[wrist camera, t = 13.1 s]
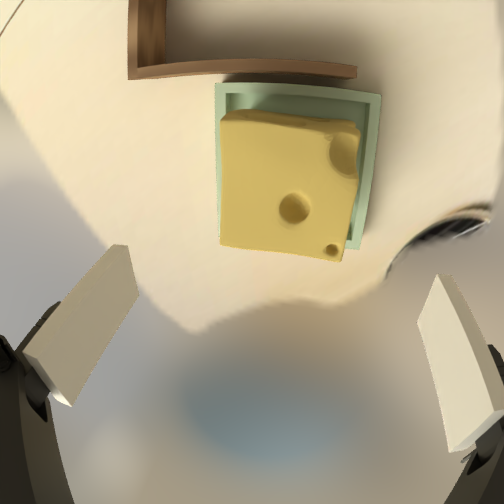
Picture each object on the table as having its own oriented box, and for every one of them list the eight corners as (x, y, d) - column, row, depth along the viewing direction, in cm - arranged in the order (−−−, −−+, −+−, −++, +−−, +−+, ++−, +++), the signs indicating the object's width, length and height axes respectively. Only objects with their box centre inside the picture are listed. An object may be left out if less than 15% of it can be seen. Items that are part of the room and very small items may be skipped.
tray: (221, 83, 27) (214, 83, 25) (375, 93, 25) (381, 94, 23) (224, 226, 35) (218, 237, 33) (356, 238, 33) (359, 249, 31)
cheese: (351, 118, 26) (374, 135, 18) (333, 219, 32) (343, 272, 23) (243, 104, 27) (216, 114, 19) (237, 205, 33) (212, 253, 24)
